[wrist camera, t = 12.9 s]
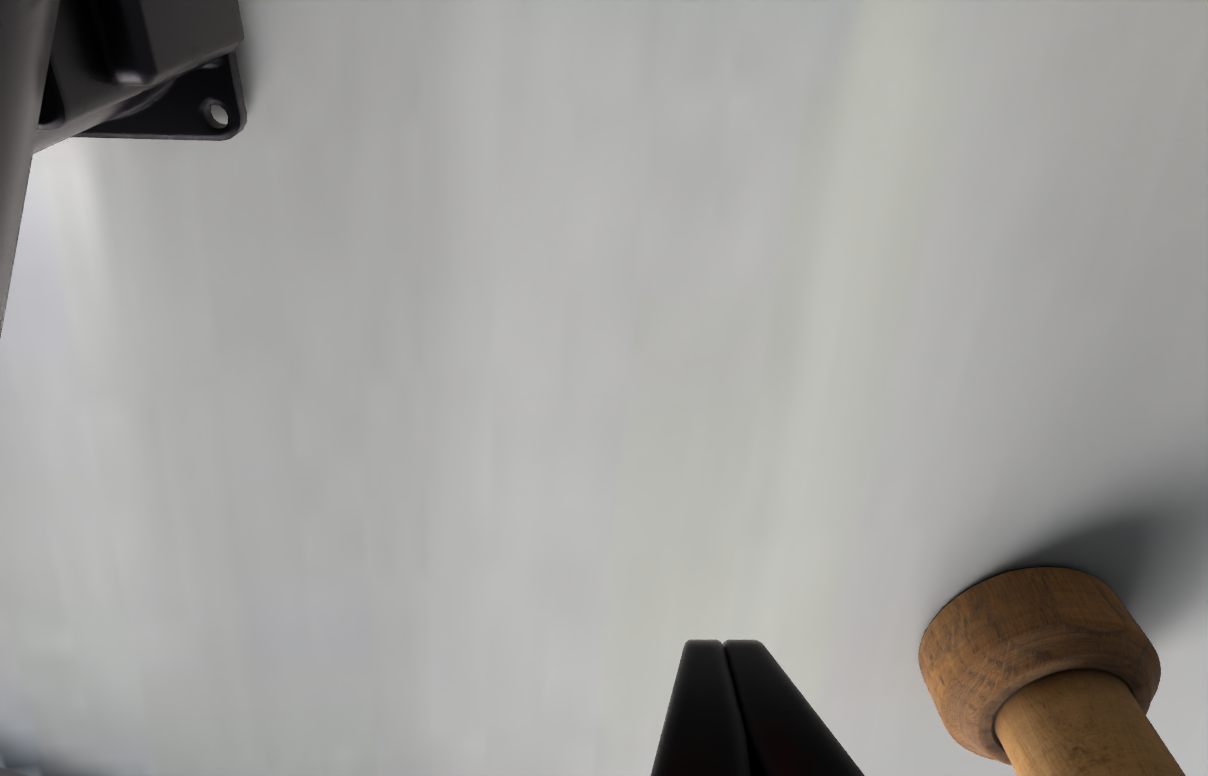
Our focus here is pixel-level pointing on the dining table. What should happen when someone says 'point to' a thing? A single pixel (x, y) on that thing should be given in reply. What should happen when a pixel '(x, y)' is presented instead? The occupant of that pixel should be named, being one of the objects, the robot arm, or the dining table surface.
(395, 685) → the dining table surface
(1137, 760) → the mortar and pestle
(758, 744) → the robot arm
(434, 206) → the dining table surface
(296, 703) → the dining table surface
